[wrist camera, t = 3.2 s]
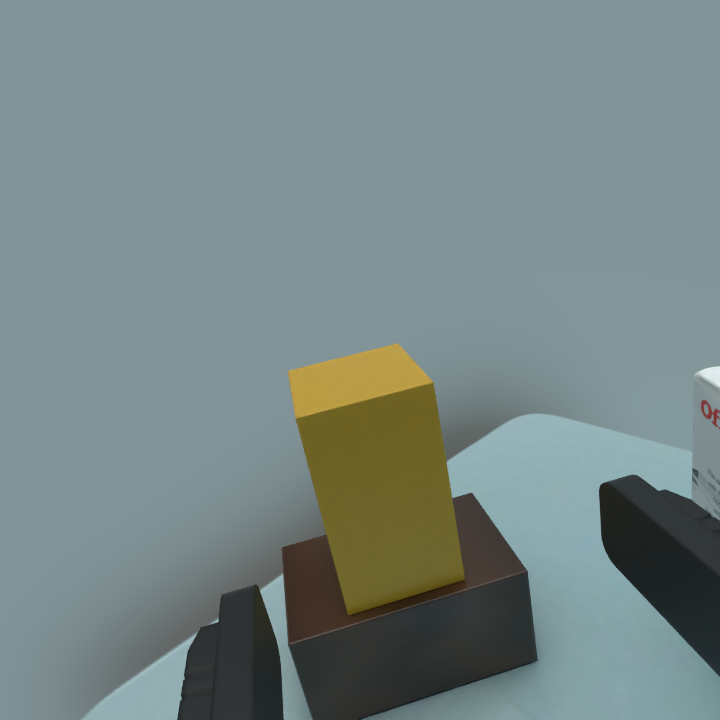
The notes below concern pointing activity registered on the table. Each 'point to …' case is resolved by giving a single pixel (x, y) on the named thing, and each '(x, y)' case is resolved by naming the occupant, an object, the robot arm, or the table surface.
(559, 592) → the table surface
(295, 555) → the walnut block
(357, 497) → the yellow block
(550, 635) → the table surface
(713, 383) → the ink box
